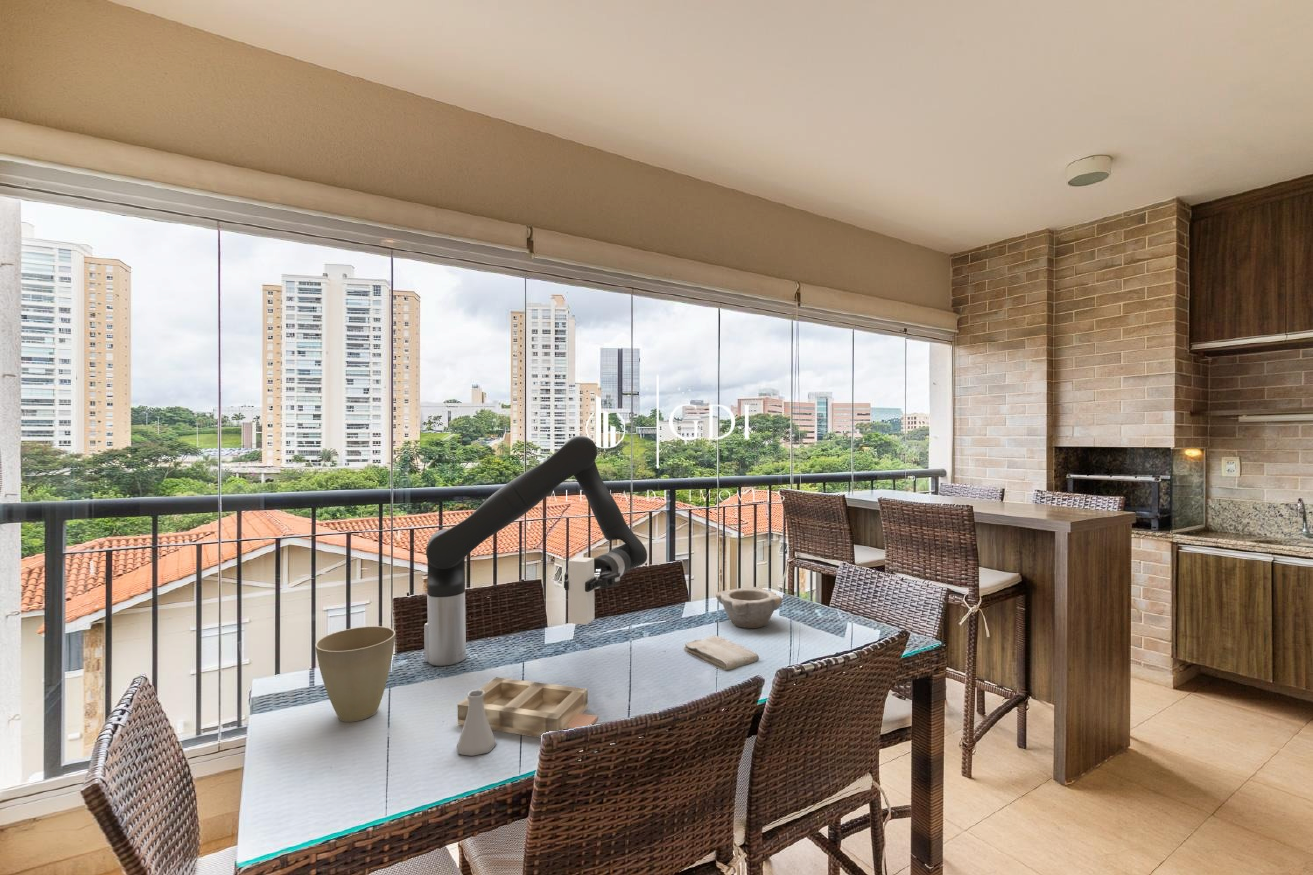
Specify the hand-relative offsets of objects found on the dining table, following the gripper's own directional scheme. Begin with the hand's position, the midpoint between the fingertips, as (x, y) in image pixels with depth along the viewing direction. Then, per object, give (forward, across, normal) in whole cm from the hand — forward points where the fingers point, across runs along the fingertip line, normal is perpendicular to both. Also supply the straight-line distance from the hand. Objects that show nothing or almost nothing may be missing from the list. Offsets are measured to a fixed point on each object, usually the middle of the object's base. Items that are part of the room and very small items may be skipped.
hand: (576, 586), depth 134 cm
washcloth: (-31, +26, +25) cm, 47 cm away
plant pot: (+22, -40, +24) cm, 52 cm away
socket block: (+13, -4, +24) cm, 27 cm away
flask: (+26, -8, +24) cm, 36 cm away
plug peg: (-3, 0, +8) cm, 9 cm away
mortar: (-59, +29, +24) cm, 70 cm away
